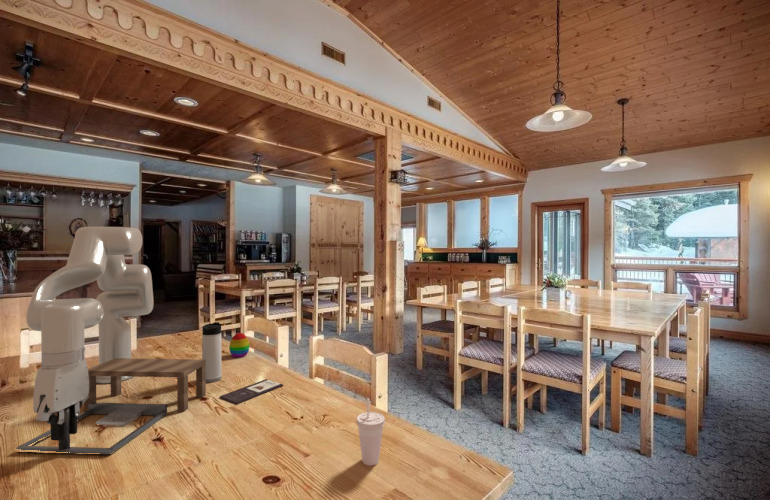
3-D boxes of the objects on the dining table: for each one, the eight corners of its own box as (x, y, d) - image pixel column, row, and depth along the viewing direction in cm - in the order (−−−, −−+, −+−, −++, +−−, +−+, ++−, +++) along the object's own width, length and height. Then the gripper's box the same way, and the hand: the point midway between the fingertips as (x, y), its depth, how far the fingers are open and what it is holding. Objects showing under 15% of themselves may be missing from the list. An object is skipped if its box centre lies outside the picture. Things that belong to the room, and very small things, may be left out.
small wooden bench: (84, 409, 109) (83, 370, 109) (115, 393, 121) (115, 358, 121) (184, 411, 108) (183, 372, 108) (205, 395, 120) (205, 359, 120)
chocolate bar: (219, 396, 118) (266, 379, 133) (219, 399, 118) (266, 381, 133) (237, 403, 113) (283, 384, 128) (237, 406, 113) (283, 387, 128)
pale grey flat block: (95, 427, 100) (95, 421, 100) (113, 417, 106) (113, 411, 106) (124, 428, 99) (124, 422, 99) (140, 417, 105) (140, 412, 105)
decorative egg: (252, 355, 163) (252, 332, 163) (235, 359, 157) (234, 336, 157) (243, 351, 169) (243, 329, 169) (225, 355, 163) (225, 333, 163)
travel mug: (225, 376, 137) (225, 322, 137) (215, 383, 131) (215, 326, 130) (209, 375, 138) (209, 321, 138) (198, 382, 131) (198, 325, 131)
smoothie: (356, 453, 87) (356, 393, 87) (383, 452, 87) (383, 392, 87) (356, 469, 80) (356, 405, 80) (386, 468, 81) (386, 404, 81)
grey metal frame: (13, 454, 86) (13, 403, 85) (91, 412, 107) (90, 371, 107) (108, 456, 85) (107, 405, 85) (167, 413, 106) (166, 372, 106)
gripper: (77, 347, 94) (78, 420, 94) (12, 368, 78) (12, 455, 78) (106, 348, 94) (107, 420, 94) (46, 369, 78) (47, 456, 78)
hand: (64, 436), depth 86 cm, fingers closed on grey metal frame, 2 cm apart
